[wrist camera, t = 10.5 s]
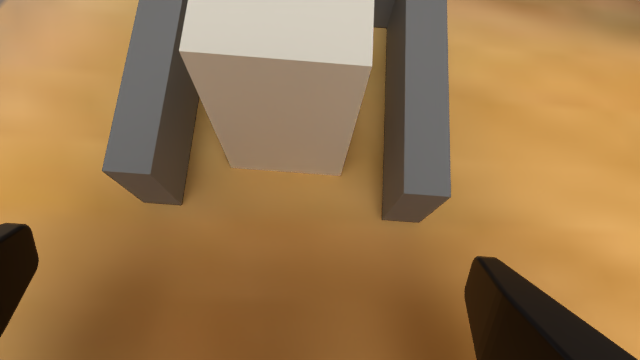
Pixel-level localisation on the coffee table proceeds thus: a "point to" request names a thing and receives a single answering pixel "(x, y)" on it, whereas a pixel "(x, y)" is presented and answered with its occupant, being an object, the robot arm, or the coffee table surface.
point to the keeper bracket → (182, 99)
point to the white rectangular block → (281, 78)
